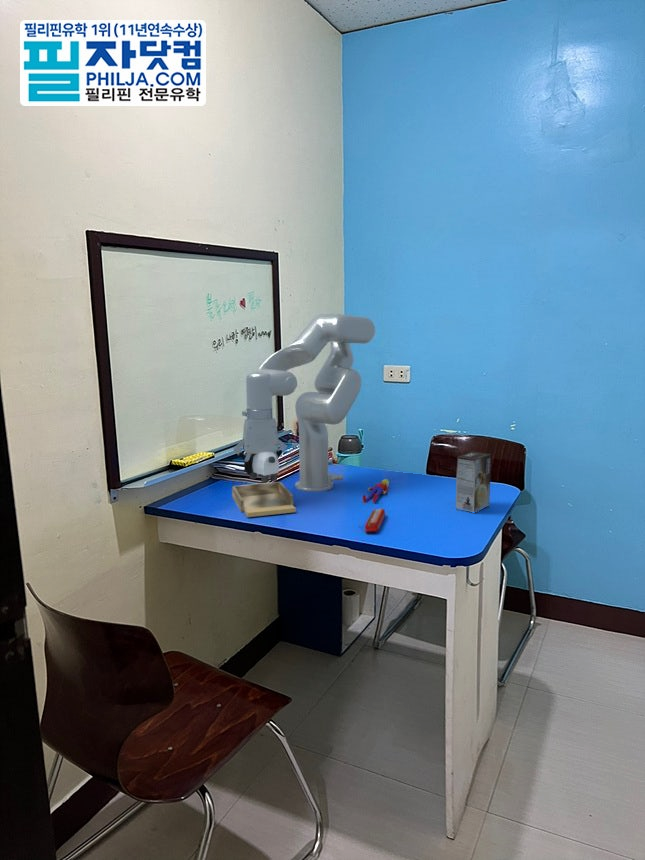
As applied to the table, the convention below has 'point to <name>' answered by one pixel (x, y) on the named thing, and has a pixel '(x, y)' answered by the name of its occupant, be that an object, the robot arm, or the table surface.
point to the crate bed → (261, 495)
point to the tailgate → (270, 510)
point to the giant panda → (264, 466)
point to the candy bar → (375, 520)
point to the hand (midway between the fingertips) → (260, 472)
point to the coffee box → (473, 481)
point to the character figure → (377, 490)
